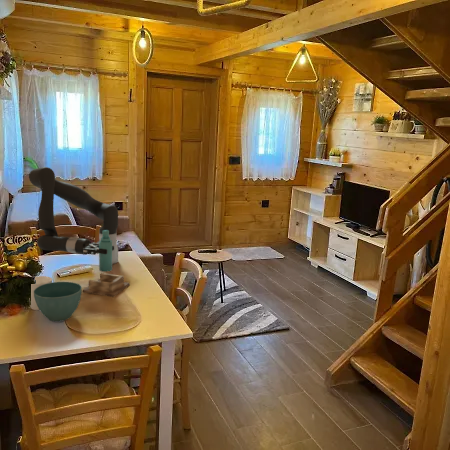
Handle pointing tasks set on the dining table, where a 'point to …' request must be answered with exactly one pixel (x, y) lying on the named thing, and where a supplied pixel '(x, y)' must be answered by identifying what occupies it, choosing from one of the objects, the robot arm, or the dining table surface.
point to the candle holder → (39, 281)
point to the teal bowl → (58, 299)
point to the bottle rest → (107, 285)
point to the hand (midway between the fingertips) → (110, 250)
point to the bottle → (106, 259)
